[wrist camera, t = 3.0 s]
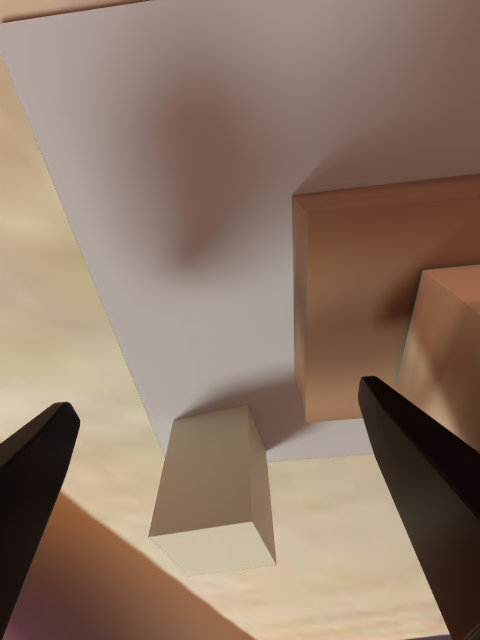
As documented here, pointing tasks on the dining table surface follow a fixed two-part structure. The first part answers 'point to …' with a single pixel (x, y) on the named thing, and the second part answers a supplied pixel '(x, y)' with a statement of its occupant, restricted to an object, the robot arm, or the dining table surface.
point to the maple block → (445, 350)
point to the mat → (234, 171)
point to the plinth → (369, 279)
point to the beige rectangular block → (215, 495)
